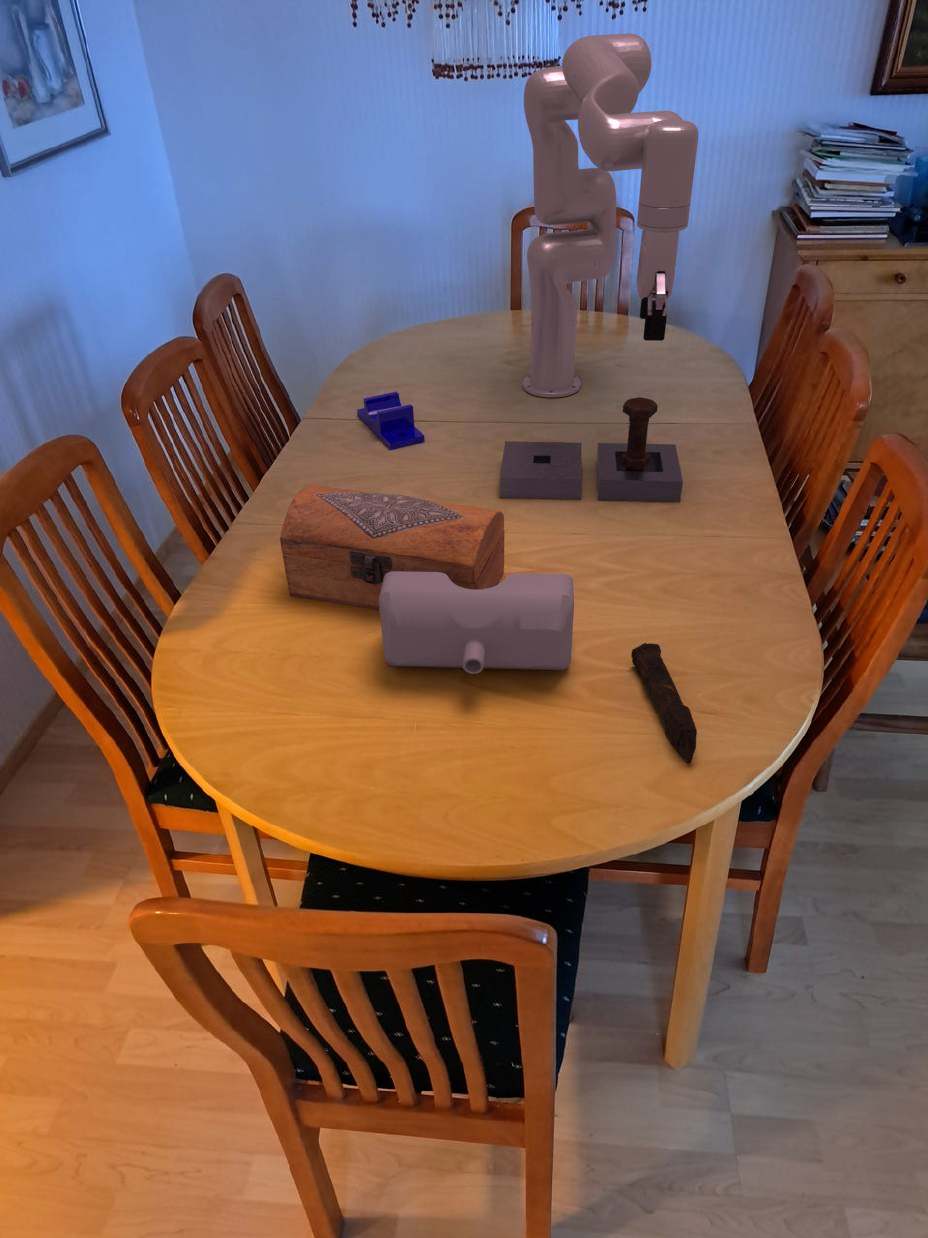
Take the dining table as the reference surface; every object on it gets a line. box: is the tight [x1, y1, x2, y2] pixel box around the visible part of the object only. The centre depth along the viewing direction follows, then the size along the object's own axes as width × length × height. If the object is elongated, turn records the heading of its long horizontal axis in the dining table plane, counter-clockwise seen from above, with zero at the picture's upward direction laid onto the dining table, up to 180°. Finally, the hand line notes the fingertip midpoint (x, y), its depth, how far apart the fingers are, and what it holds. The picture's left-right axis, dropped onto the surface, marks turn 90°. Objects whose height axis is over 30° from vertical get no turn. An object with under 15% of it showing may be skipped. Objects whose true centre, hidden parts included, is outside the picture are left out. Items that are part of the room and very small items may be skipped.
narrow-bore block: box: [499, 440, 583, 501], centre depth 161 cm, size 14×14×4 cm
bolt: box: [621, 396, 658, 472], centre depth 156 cm, size 6×5×15 cm
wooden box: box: [279, 484, 505, 611], centre depth 133 cm, size 30×16×14 cm, turn 72°
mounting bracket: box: [356, 391, 425, 451], centre depth 180 cm, size 18×7×6 cm, turn 26°
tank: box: [378, 571, 575, 675], centre depth 118 cm, size 25×16×12 cm, turn 86°
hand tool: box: [630, 642, 698, 764], centre depth 112 cm, size 19×4×5 cm, turn 5°
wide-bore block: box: [595, 442, 684, 503], centre depth 160 cm, size 14×14×4 cm
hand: (651, 328), depth 144 cm, fingers open, 9 cm apart
